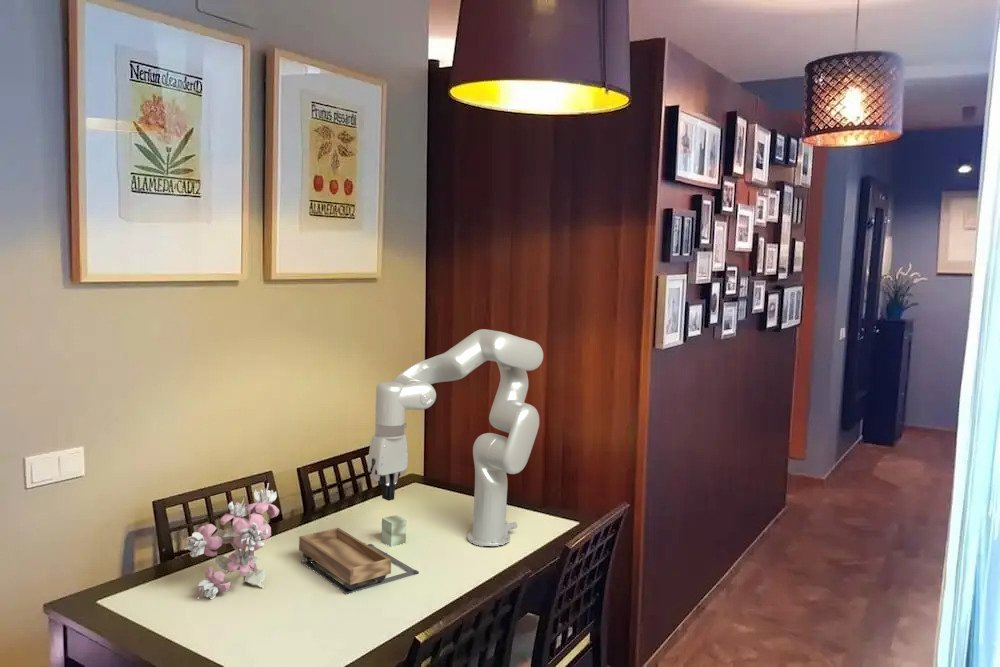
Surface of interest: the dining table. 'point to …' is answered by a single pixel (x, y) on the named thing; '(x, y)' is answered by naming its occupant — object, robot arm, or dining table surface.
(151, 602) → the dining table surface
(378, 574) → the cart
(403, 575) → the grey flat square frame
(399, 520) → the sage block
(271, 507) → the flower
